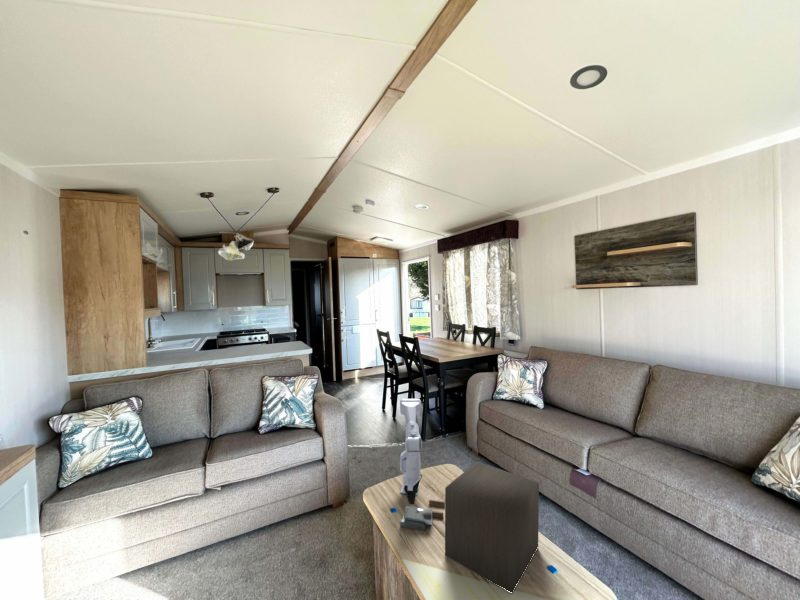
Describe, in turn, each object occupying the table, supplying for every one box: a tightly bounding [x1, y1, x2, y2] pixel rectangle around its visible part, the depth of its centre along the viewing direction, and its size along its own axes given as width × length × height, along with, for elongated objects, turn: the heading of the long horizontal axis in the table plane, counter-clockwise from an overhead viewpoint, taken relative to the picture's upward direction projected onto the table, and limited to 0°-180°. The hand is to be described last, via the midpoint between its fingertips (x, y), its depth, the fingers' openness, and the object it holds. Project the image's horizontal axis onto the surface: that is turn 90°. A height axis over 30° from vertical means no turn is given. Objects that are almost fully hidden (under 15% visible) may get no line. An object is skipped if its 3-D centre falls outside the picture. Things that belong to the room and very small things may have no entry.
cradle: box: [399, 508, 427, 532], centre depth 141 cm, size 9×10×2 cm
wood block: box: [444, 461, 540, 593], centre depth 125 cm, size 25×25×25 cm
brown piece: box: [428, 499, 445, 519], centre depth 148 cm, size 8×7×2 cm
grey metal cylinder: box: [403, 505, 433, 526], centre depth 140 cm, size 11×5×5 cm, turn 78°
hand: (413, 498), depth 141 cm, fingers open, 7 cm apart
